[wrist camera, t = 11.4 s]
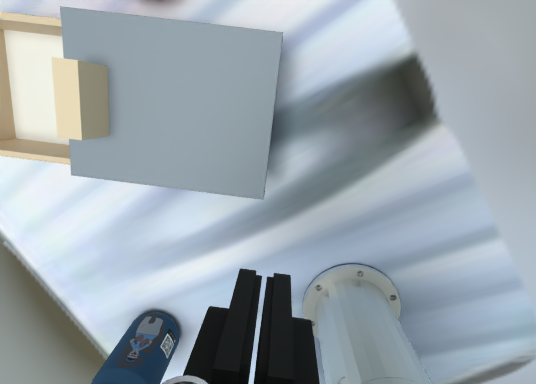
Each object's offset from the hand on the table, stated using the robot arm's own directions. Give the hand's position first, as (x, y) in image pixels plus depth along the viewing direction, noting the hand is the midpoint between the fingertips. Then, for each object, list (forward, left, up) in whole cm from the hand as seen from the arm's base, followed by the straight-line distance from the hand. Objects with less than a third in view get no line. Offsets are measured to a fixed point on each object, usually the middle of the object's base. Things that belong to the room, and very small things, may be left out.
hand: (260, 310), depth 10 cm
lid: (+5, +10, -21) cm, 24 cm away
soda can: (-26, +14, -27) cm, 40 cm away
